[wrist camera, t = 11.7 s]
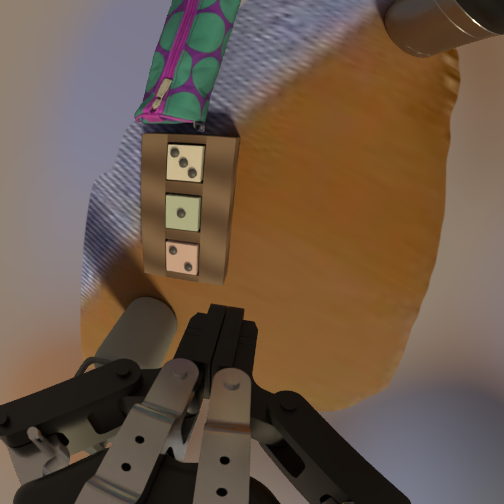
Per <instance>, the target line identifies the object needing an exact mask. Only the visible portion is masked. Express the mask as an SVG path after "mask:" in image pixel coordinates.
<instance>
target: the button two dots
mask: <svg viewBox="0 0 504 504" xmlns="http://www.w3.org/2000/svg"><path fill="white" fill-rule="evenodd" d="M199 256H200V243H193V242H186V241H179V240H171V239H168V240H167V241H166V266H167V271H174V272H180V273H186V274H192V275H197V273H198V271H199Z"/></svg>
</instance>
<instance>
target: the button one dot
mask: <svg viewBox="0 0 504 504" xmlns="http://www.w3.org/2000/svg"><path fill="white" fill-rule="evenodd" d="M201 210H202V196H200V195H191V194H180V193H169V194H167V195H166V228H173V229H181V230H189V231H198V230H199V229H200V227H201Z"/></svg>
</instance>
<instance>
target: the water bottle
mask: <svg viewBox="0 0 504 504" xmlns="http://www.w3.org/2000/svg"><path fill="white" fill-rule="evenodd" d="M176 331H177V320H176V317H175V315H174V313H173V311H172V310H171V309H170V308H169V307H168V306H167V305H166V304H165V303H163V302H162V301H160V300H158V299H155V298H152V297H140V298H137V299H135V300H133V301H132V302H131V303H130V305H129V306H128V307H127V309H126V310H125V312H124V313H123V314H122V316H121V317H120V319H119V320H118V321H117V323H116V324H115V326H114V327H113V329H112V330H111V331H110V333H109V334H108V336H107V337H106V339H105V340H104V342H103V343H102V344H101V346H100V347H99V349H98V350H97V352H96V354H95V357H89V358H87V359H86V360H85V361H84V362H83V364H82V365H81V367H80V368H79V370H78V371H77V373H76V374H75V376H74V377H76V376H79V375H81V374H83V373H84V372H85V370H86V369H87V367H88V366H89V365H91V364H93V363H94V364H95V368H98V367H100V366H103V365H105V364H108V363H110V362H112V361H115V360H117V359H123V358H125V359H131V360H133V361H135V362H136V363H137V364H138V365H139V366H140V369H157V368H160V367H161V365H162V363H163V360H164V358H165V356H166V354H167V351H168V349H169V347H170V345H171V342H172V340H173V338H174V336H175V333H176ZM115 437H116V435H115V436H113V437H111V438H109V439H107V440H105V441H103V442H101V443H98V444H96V445H94V446H92V447H89V448H87V449H85V450H84V451H85V452H87V453H89V454H90V455H92V454H94V453H96V452H98V451H100V450H103V449H105V447H106V445H107V444H108V442H113V441H114V439H115Z"/></svg>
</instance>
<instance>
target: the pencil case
mask: <svg viewBox="0 0 504 504" xmlns="http://www.w3.org/2000/svg"><path fill="white" fill-rule="evenodd" d="M240 2H241V0H172V6H171V7H170V10H169V12H168V15H167V18H166V22H165V25H164V28H163V31H162V34H161V37H160V40H159V42H158V45H157V47H156V50H155V53H154V57H153V61H152V66H151V68H150V72H149V78H148V82H147V86H146V91H145V95H144V99H143V103H142V104H141V105H140V107H139V109H138V110H137V111H136V113H135V115H134V117H135V120H136V121H137V122H142V123H165V124H177V123H193V126H194V128H195V129H196V130H197V131H199V132H202V133H203V132H204V131H205V125H204V123H203V122H205V120H206V116H207V112H208V106H209V100H210V95H211V92H212V90H213V86H214V83H215V80H216V78H217V75H218V72H219V68H220V65H221V62H222V58H223V55H224V52H225V50H226V45H227V42H228V39H229V36H230V33H231V31H232V28H233V23H234V20H235V17H236V14H237V11H238V9H239V6H240ZM195 125H197V127H196V126H195Z"/></svg>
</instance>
